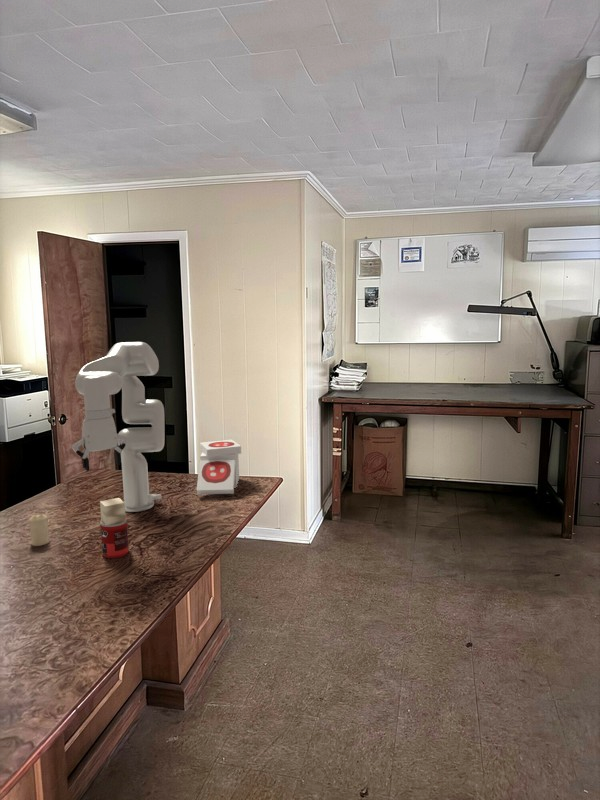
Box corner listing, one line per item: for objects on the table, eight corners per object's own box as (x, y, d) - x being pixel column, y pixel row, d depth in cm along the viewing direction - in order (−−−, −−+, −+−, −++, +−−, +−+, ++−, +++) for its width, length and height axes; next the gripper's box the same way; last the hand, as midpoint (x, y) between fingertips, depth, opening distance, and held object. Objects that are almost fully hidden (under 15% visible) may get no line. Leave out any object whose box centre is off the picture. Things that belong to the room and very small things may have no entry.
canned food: (105, 549, 186) (103, 516, 184) (131, 548, 186) (128, 515, 185) (99, 559, 178) (97, 525, 177) (126, 558, 179) (123, 524, 177)
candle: (53, 540, 194) (50, 512, 192) (41, 546, 189) (38, 517, 187) (40, 538, 196) (37, 510, 194) (27, 545, 191) (24, 516, 189)
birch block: (120, 515, 185) (119, 497, 184) (125, 521, 180) (124, 502, 179) (101, 519, 182) (99, 501, 181) (106, 525, 177) (105, 506, 176)
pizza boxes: (192, 499, 234) (190, 456, 231) (203, 478, 264) (201, 440, 261) (239, 498, 234) (237, 455, 232) (244, 477, 264) (243, 439, 261)
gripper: (121, 409, 189) (125, 459, 192) (66, 416, 179) (71, 469, 182) (129, 412, 183) (133, 464, 186) (72, 420, 173) (77, 474, 176)
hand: (102, 466), depth 184 cm, fingers open, 9 cm apart
